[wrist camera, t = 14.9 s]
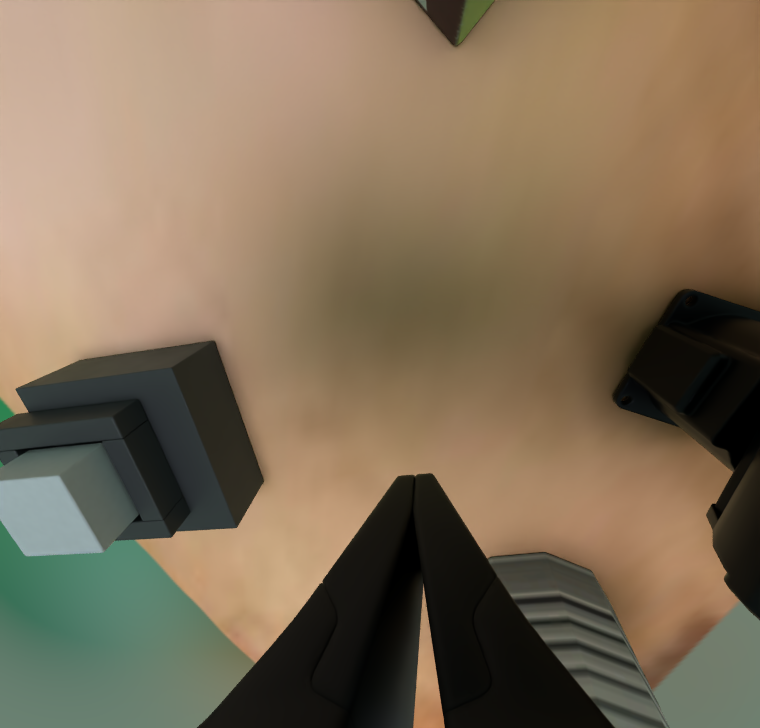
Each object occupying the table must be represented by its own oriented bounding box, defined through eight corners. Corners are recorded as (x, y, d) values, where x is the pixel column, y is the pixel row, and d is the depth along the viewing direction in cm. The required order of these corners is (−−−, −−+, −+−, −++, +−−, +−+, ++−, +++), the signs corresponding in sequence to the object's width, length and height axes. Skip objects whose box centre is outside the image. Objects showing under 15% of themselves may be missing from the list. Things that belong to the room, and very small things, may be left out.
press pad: (105, 441, 18) (57, 476, 16) (141, 512, 20) (103, 553, 17) (29, 449, 19) (-27, 483, 16) (70, 517, 20) (24, 557, 18)
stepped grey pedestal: (214, 340, 21) (145, 383, 16) (264, 481, 25) (221, 555, 20) (70, 361, 23) (-36, 407, 18) (137, 491, 27) (65, 562, 21)
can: (488, 672, 30) (526, 940, 19) (417, 581, 27) (414, 837, 16) (635, 637, 27) (783, 934, 16) (573, 528, 24) (704, 803, 13)
